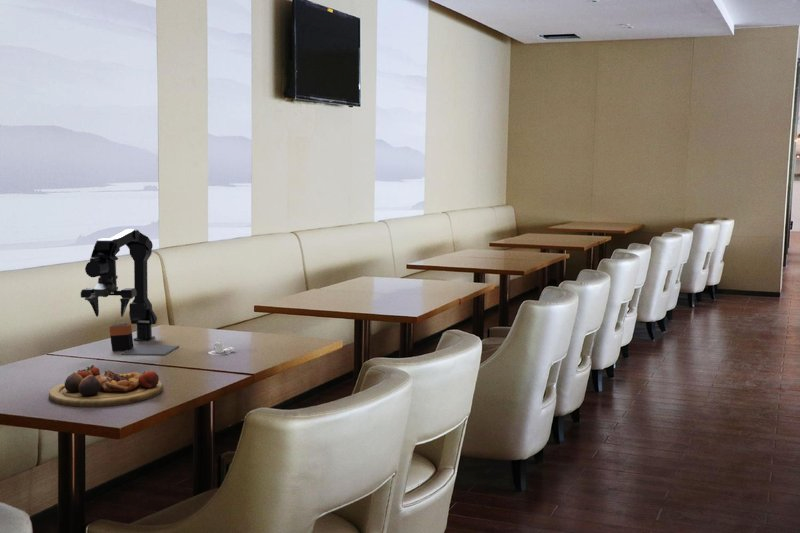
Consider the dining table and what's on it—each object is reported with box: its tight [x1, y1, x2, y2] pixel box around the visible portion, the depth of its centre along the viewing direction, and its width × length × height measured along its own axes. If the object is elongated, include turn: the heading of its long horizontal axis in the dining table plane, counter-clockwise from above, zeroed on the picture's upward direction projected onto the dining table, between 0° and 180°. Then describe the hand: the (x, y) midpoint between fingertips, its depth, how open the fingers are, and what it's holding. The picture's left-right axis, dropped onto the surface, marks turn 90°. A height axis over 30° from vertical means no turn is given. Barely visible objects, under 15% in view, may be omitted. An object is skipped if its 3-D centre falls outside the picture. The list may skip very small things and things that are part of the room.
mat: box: [120, 344, 180, 357], centre depth 328 cm, size 16×16×1 cm
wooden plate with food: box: [48, 364, 164, 408], centre depth 264 cm, size 32×32×8 cm
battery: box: [108, 321, 134, 352], centre depth 328 cm, size 4×7×10 cm, turn 86°
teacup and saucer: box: [208, 341, 235, 356], centre depth 324 cm, size 9×8×4 cm
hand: (109, 316), depth 324 cm, fingers open, 9 cm apart
